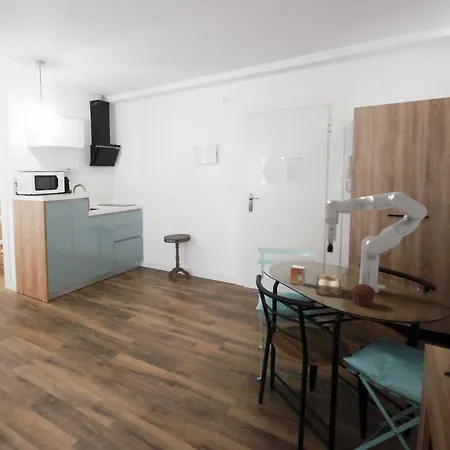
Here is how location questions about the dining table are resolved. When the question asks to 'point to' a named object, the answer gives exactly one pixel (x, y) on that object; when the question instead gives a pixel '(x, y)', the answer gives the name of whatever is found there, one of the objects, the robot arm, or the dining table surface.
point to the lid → (328, 281)
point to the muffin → (363, 295)
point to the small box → (297, 275)
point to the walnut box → (328, 290)
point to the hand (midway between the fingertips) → (329, 252)
